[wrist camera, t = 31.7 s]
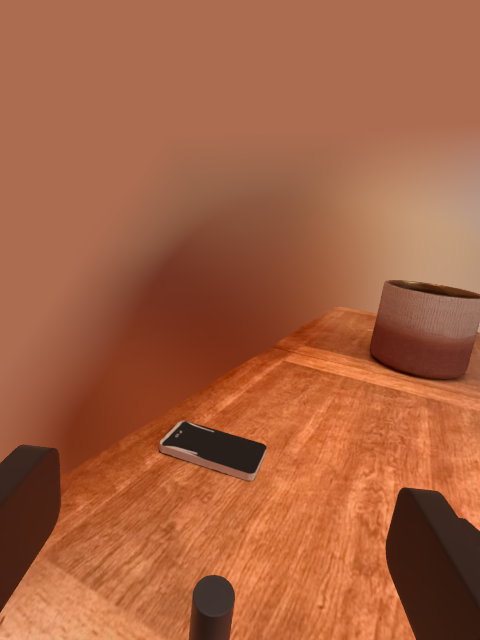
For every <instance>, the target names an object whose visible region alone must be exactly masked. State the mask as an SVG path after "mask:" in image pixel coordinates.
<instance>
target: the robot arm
mask: <svg viewBox="0 0 480 640" xmlns="http://www.w3.org/2000/svg"><path fill="white" fill-rule="evenodd" d="M60 506H61V494H60V463H59V453H58V450H57V449H55V448H49V447H48V448H47V447H39V446H30V445H20V446H18V447H17V448H16V449H15V450H14V451H13V452H12V453H11V454H10V455H9V456H7V457H6V458H5V459H4V460H3V461H2V462H1V463H0V612H1V611H2V609H3V608H4V606H5V604H6V603H7V601H8V600H9V598H10V597H11V595H12V594H13V592H14V591H15V589H16V587H17V586H18V584H19V583H20V581H21V580H22V578H23V577H24V575H25V573H26V572H27V570H28V569H29V567H30V566H31V564H32V563H33V561H34V559H35V558H36V556H37V555H38V553H39V552H40V550H41V549H42V547H43V545H44V544H45V542H46V541H47V539H48V538H49V536H50V535H51V533H52V531H53V529H54V527H55V525H56V522H57V519H58V516H59V512H60ZM386 559H387V565H388V569H389V572H390V575H391V577H392V580H393V582H394V585H395V587H396V590H397V592H398V595H399V597H400V600H401V602H402V605H403V607H404V610H405V613H406V615H407V618H408V620H409V623H410V625H411V628H412V630H413V633H414V635H415V638H416V640H480V531H479V530H478V529H476V528H475V527H474V526H473V525H472V524H471V523H469V522H468V521H467V520H466V519H463V518H458V516H457V515H456V514H455V512H454V511H453V509H452V508H451V506H450V505H449V504H448V502H447V501H446V499H445V498H444V496H443V495H442V494H441V493H440V492H438V491H432V490H423V489H414V488H402V489H401V490H400V492H399V494H398V497H397V501H396V505H395V509H394V513H393V516H392V520H391V524H390V528H389V532H388V535H387V540H386Z"/></svg>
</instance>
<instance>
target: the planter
mask: <svg viewBox="0 0 480 640" xmlns="http://www.w3.org/2000/svg"><path fill="white" fill-rule="evenodd" d="M479 323H480V294H477V293H474V292H470V291H466V290H462V289H458V288H452V287H447V286H442V285H435V284H429V283H422V282H413V281H402V280H389V281H385V283H384V287H383V291H382V296H381V301H380V305H379V309H378V314H377V318H376V322H375V327H374V331H373V335H372V340H371V344H370V352H371V354H372V355H373V356H374V357H375V358H376V359H377V360H379V361H380V362H382V363H383V364H385V365H387V366H389V367H391V368H394V369H396V370H399V371H401V372H405V373H408V374H412V375H416V376H420V377H426V378H433V379H452V378H457V377H460V376H462V375H464V374H465V372H466V370H467V367H468V364H469V360H470V356H471V353H472V349H473V345H474V341H475V338H476V334H477V330H478V327H479Z"/></svg>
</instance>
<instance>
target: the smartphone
mask: <svg viewBox="0 0 480 640" xmlns="http://www.w3.org/2000/svg"><path fill="white" fill-rule="evenodd" d="M159 451H160V452H161V453H164V454H167V455H170V456H173V457H176V458H179V459H182V460H185V461H188V462H191V463H195V464H198V465H201V466H204V467H207V468H210V469H213V470H216V471H219V472H222V473H225V474H228V475H231V476H234V477H237V478H240V479H243V480H246V481H253V480H254V479H255V477H256V474H257V472H258V470H259V468H260V466H261V463H262V461H263V459H264V457H265V454H266V446H265V445H264V444H262V443H258V442H255V441H252V440H248V439H245V438H241V437H238V436H235V435H231V434H228V433H225V432H221V431H218V430H214V429H211V428H208V427H204V426H201V425H198V424H194V423H191V422H187V421H180V422H179V423H178V424H177V425H176V426H175V427H174V428H173V429H172V430H171V431H170V432H169V433H168V434H167V435H166V436H165V437H164V438H163V439H162V440H161V441H160V447H159Z"/></svg>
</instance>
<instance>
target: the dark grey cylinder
mask: <svg viewBox="0 0 480 640" xmlns="http://www.w3.org/2000/svg"><path fill="white" fill-rule="evenodd" d="M234 601H235V593H234V589H233V587H232V585H231V584H230V582H229V581H228V580H226V579H225V578H223V577H221V576H217V575H210V576H206V577H204V578H203V579H201V580H200V581H199V582H198V583H197V585H196V586H195V588H194V591H193V599H192V610H191V621H190V632H189V640H229V639H230V631H231V624H232V616H233V608H234Z"/></svg>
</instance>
